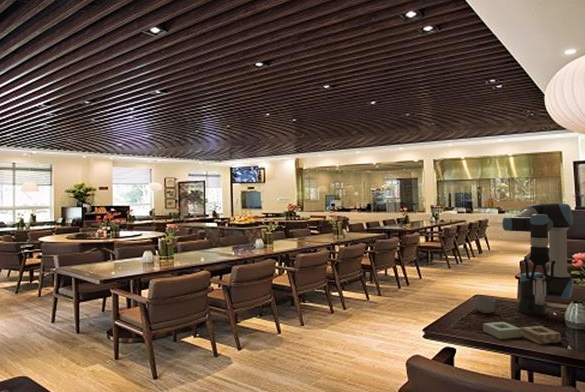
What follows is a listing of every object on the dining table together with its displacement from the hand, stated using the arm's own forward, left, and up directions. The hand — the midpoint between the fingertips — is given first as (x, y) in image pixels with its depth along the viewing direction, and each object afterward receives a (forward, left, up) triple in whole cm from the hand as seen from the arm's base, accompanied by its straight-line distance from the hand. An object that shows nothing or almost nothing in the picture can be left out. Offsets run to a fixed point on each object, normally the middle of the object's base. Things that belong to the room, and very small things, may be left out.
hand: (539, 294), depth 202 cm
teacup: (-5, -48, -22) cm, 53 cm away
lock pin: (0, 0, -4) cm, 4 cm away
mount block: (0, 0, -21) cm, 21 cm away
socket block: (+13, -10, -21) cm, 27 cm away
